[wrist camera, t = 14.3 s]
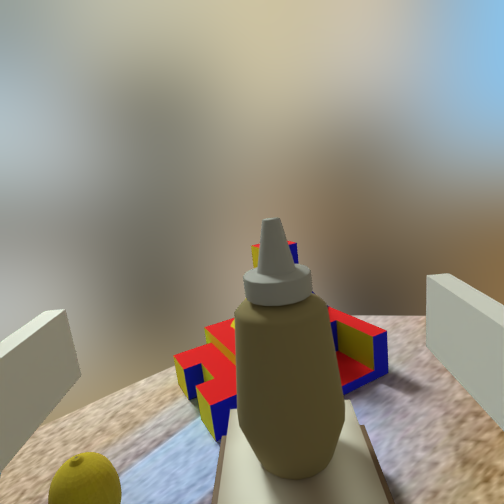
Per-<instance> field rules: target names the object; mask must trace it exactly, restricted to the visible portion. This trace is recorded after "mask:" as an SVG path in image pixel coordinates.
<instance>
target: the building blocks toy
mask: <svg viewBox="0 0 504 504" xmlns="http://www.w3.org/2000/svg"><path fill="white" fill-rule="evenodd" d="M287 242H288V245H289V248H290V251H291V254H292V258H293V261H294V264H298V254H297V243H295V242H290V241H287ZM259 247H260V244H256V245H252V246H251V249H252V257H253V266H254V268H257V266H258V257H259ZM312 293H314V292H313V291H312ZM314 294H315V293H314ZM327 307H328V312H329V318H330V323H331V329H332V335H333V340H334V346H335V351H336V357H337V362H338V368H339V373H340V379H341V385H342V390H343V395H345V394H347V393H349V392H351V391H353V390H355V389H357V388H359V387H361V386H363V385H365V384H367V383H369V382H371V381H373V380H375V379H377V378H379V377H381V376H383V375H385V374H387V373H388V347H387V331H386V330H384V329H381V328H379V327H377V326H374V325H372V324H369V323H367V322H365V321H362V320H360V319H357V318H355V317H353V316H350V315H348V314H345V313H343V312H341V311H338V310H335V309H333V308H331V307H329V306H328V305H327ZM204 329H205V335H206V342H207V344H206V345H203V346H200V347H197V348H194V349H191V350H188V351H185V352H182V353H180V354H176V355H174V362H175V367H176V373H177V378H178V384H179V386H180V387H181V389H182V390H183V392H184V393H185V395H186V397H187V398H188V400H191V399H193V398H196V397H197V398H198V404H199V409H200V415H201V420H202V421H203V423H204V424H205V426H206V427H207V429H208V430H209V432H210V434H211V435H212V437H213V438H214V440H215V441H218V440H220V439H222V436H226V435H227V430H228V423H229V416H230V409H237V389H236V352H235V318H232V319H229V320H226V321H223V322H220V323H217V324H214V325H210V326H207V327H205V328H204ZM370 368H371V369H370Z"/></svg>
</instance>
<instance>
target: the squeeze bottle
mask: <svg viewBox="0 0 504 504" xmlns="http://www.w3.org/2000/svg"><path fill="white" fill-rule="evenodd" d="M243 281H244V289H245V296H246V299H245V300H244V301H243V302H242V303H241V304H240V305H239V307H238V308H237V309H236V311H235V312H234V315H235V352H236V389H237V415H238V421H239V427H240V428H241V430H242V432H243V434H244V435H245V437H246V439H247V441H248V443H249V444H250V446H251V448H252V450H253V452H254V453H255V455H256V457H257V459H258V461H259V462H260V463H261V464H262V466H263V467H264V468H265V469H266V470H267V471H268V472H270V473H272V474H274V475H276V476H278V477H280V478H285V479H294V480H299V479H303V478H308V477H313V476H314V475H316V474H318V473H319V472H321V471H322V470H324V469H325V468H326V467H327V465H328V464H329V462H330V461H331V459H332V458H333V455H334V452H335V449H336V446H337V443H338V440H339V437H340V434H341V431H342V428H343V425H344V422H345V401H344V396H343V390H342V385H341V379H340V373H339V368H338V362H337V357H336V351H335V346H334V340H333V335H332V329H331V323H330V318H329V312H328V307H327V304H326V303H325V302H324V301H323V300H322V299H321V298H320V297H318V296H317V295H316V294H314V293H312V278H311V270H310V269H309V268H308V267H307V266H304V265H300V264H294V261H293V258H292V254H291V251H290V248H289V245H288V242H287V239H286V236H285V233H284V229H283V226H282V223H281V220H280V218H267V219H263V220H262V229H261V239H260V247H259V257H258V266H257V268H254V269H252V270H249V271H247V272H246V273H245V275H244V276H243Z"/></svg>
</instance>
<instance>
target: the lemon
mask: <svg viewBox="0 0 504 504" xmlns="http://www.w3.org/2000/svg"><path fill="white" fill-rule="evenodd" d="M120 503H121V485H120V480H119V476H118V474H117V472H116V470H115V468H114V467H113V465H112V463H111V462H110V461H109V460H108V459H107V458H106V457H105V456H103V455H101V454H99V453H95V452H85V453H80V454H78V455H75V456H73V457H72V458H70V459H69V460H67V461H66V462H65V463H64V464H63V465H62V466H61V467H60V468H59V470H58V471H57V472H56V474H55V476H54V478H53V480H52V482H51V486H50V490H49V496H48V504H120Z"/></svg>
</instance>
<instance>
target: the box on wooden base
mask: <svg viewBox="0 0 504 504" xmlns="http://www.w3.org/2000/svg"><path fill="white" fill-rule="evenodd" d="M344 401H345V422H344V425H343V428H342V431H341V434H340V437H339V440H338V443H337V446H336V449H335V452H334V455H333V458H332V459H331V461H330V462H329V464H328V465H327V467H326V468H325V469H324V470H322V471H321V472H319V473H318V474H316V475H314V476H313V477H308V478H303V479H299V480H294V479H285V478H280V477H278V476H276V475H274V474H272V473H270V472H268V471H267V470H266V469H265V468H264V467H263V466H262V464H261V463H260V462H259V461H258V459H257V457H256V455H255V453H254V452H253V450H252V448H251V446H250V444H249V443H248V441H247V439H246V437H245V435H244V434H243V432H242V430H241V428H240V427H239V421H238V415H237V409H230V416H229V423H228V430H227V435H226V436H222V439H221V445H220V451H219V458H218V464H217V471H216V477H215V484H214V490H213V497H212V503H211V504H395V503H394V500H393V498H392V495H391V492H390V490H389V487H388V485H387V482H386V480H385V477H384V475H383V472H382V469H381V467H380V464H379V462H378V459H377V457H376V454H375V452H374V449H373V446H372V444H371V441H370V439H369V436H368V434H367V431H366V429H365V426H364V425H359V423H358V420H357V417H356V415H355V412H354V409H353V407H352V404H351V401H350V400H344Z"/></svg>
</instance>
